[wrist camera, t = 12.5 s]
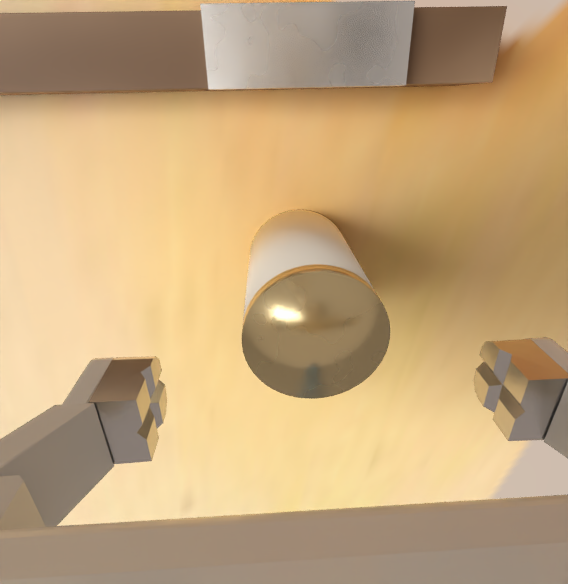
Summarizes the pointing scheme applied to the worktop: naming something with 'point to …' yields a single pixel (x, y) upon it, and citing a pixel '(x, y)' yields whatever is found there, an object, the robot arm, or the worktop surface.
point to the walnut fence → (249, 48)
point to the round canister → (310, 309)
